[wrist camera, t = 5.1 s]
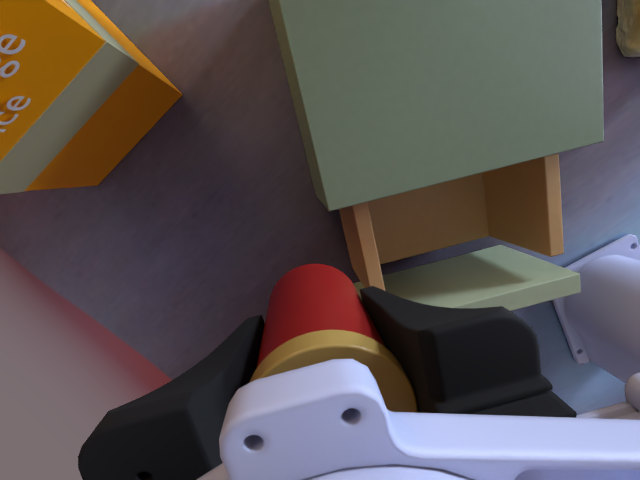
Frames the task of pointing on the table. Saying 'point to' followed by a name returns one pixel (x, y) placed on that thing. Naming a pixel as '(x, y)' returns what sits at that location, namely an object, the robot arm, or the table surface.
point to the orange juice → (70, 95)
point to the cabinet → (437, 88)
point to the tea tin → (327, 332)
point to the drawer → (467, 239)
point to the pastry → (628, 27)
